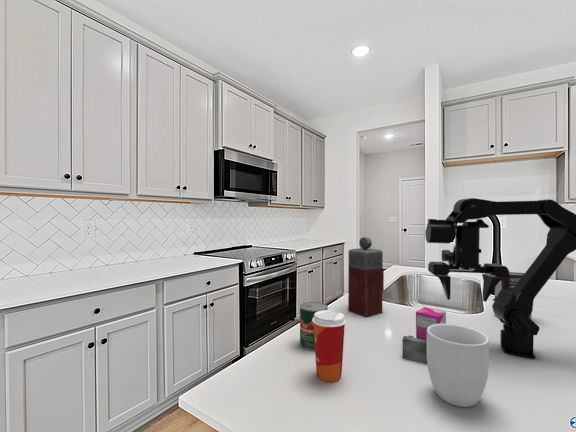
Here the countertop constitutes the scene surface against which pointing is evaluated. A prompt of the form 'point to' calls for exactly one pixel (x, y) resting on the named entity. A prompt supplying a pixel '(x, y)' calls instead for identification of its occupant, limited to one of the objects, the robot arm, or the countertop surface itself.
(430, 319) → the supplement box
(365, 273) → the pepper mill
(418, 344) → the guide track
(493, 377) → the countertop surface
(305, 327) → the canned tomato
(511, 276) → the coffee box
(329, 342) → the paper cup
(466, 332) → the mug
